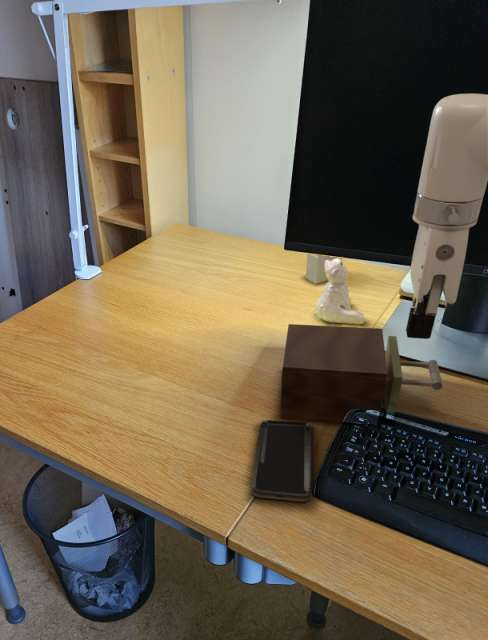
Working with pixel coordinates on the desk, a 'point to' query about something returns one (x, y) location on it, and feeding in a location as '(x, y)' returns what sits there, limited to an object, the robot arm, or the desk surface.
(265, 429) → the phone
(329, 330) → the cabinet
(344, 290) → the sitting furry creature
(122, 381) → the desk surface
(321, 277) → the cream upright block
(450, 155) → the robot arm
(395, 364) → the drawer
